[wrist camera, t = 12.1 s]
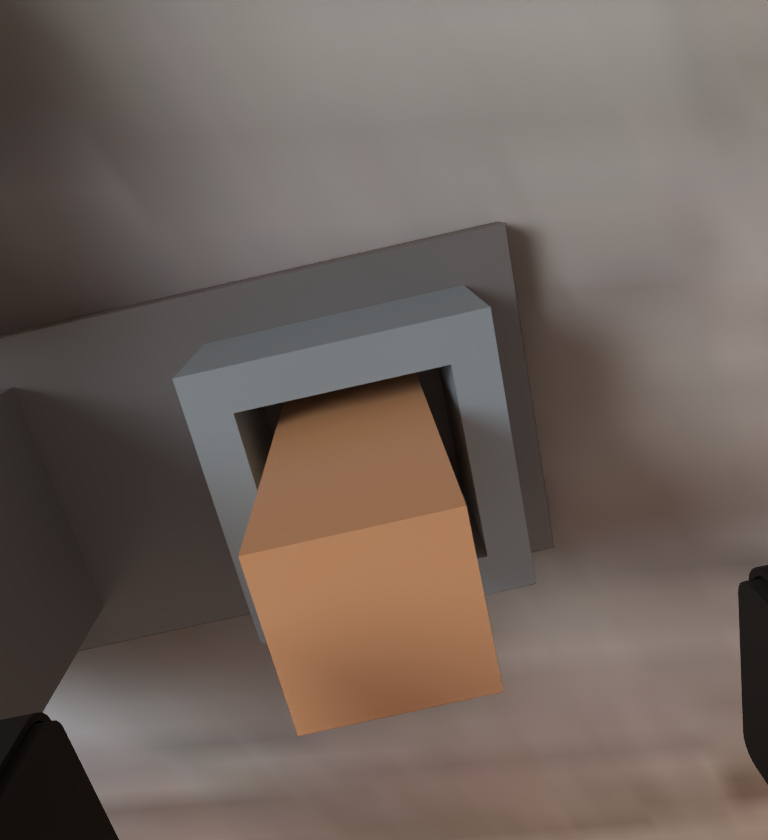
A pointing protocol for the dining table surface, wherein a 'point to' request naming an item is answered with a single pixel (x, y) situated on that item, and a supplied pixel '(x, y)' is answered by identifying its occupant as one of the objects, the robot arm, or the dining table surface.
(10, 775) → the robot arm
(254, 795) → the dining table surface
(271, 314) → the socket stand
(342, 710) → the peg
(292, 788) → the dining table surface
